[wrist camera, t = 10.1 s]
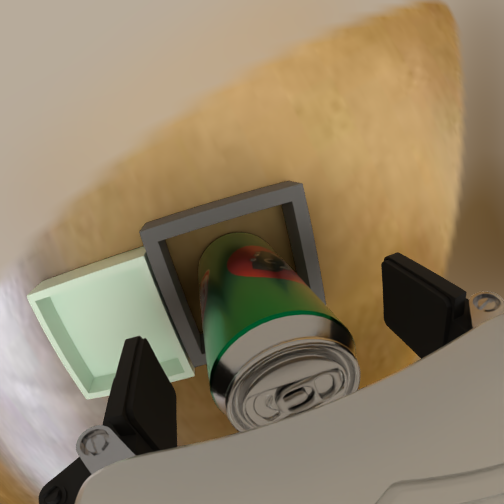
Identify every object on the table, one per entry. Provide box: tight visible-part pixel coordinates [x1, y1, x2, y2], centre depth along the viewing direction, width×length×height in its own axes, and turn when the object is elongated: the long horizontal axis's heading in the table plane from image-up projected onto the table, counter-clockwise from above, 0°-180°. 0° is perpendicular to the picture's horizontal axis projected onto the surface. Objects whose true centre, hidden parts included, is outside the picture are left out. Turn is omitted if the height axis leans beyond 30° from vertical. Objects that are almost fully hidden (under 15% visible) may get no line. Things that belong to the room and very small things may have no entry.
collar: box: [139, 181, 326, 367], centre depth 18 cm, size 9×9×2 cm
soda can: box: [198, 232, 360, 432], centre depth 14 cm, size 5×5×12 cm
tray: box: [27, 246, 195, 399], centre depth 18 cm, size 8×8×2 cm
